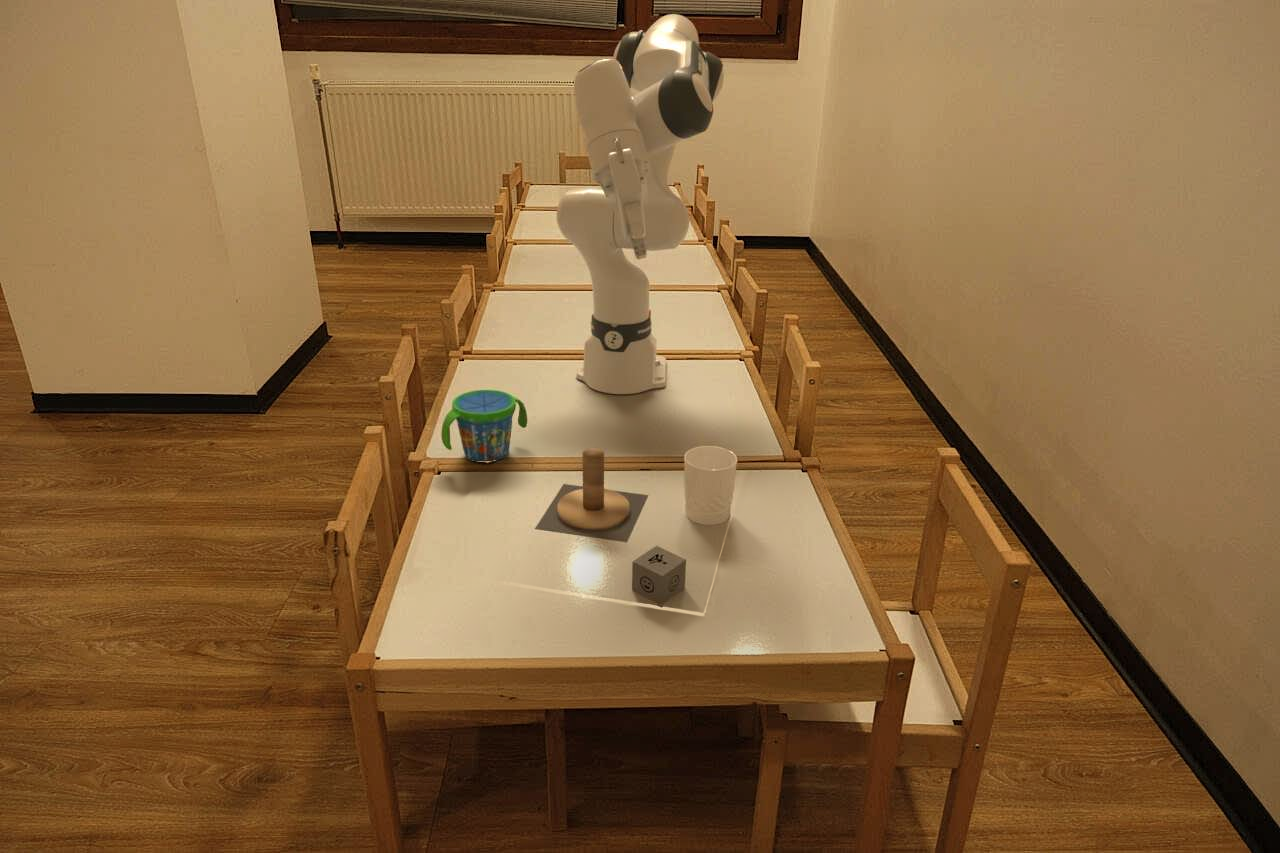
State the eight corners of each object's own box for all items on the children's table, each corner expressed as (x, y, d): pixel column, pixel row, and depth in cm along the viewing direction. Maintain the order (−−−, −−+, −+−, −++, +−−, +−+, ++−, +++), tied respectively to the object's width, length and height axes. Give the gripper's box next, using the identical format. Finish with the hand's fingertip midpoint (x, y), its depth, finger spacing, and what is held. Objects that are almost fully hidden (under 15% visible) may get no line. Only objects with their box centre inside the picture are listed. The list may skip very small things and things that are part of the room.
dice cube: (655, 576, 123) (656, 545, 121) (684, 590, 120) (686, 559, 118) (632, 592, 119) (632, 561, 117) (661, 608, 116) (662, 576, 114)
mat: (563, 486, 145) (563, 483, 145) (648, 497, 142) (648, 495, 142) (535, 530, 133) (534, 528, 132) (626, 544, 130) (626, 541, 130)
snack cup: (514, 433, 162) (512, 381, 158) (541, 456, 154) (540, 402, 150) (432, 454, 154) (427, 399, 150) (456, 479, 146) (452, 422, 142)
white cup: (705, 497, 143) (708, 440, 138) (743, 516, 138) (748, 458, 133) (671, 514, 138) (673, 456, 133) (709, 535, 133) (713, 475, 128)
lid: (569, 489, 143) (568, 433, 139) (636, 498, 141) (637, 441, 137) (547, 524, 133) (546, 465, 129) (619, 534, 131) (620, 474, 127)
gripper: (636, 126, 126) (659, 217, 124) (641, 183, 146) (661, 263, 145) (593, 136, 126) (615, 228, 124) (604, 192, 147) (623, 272, 145)
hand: (640, 247), depth 135 cm, fingers open, 8 cm apart
